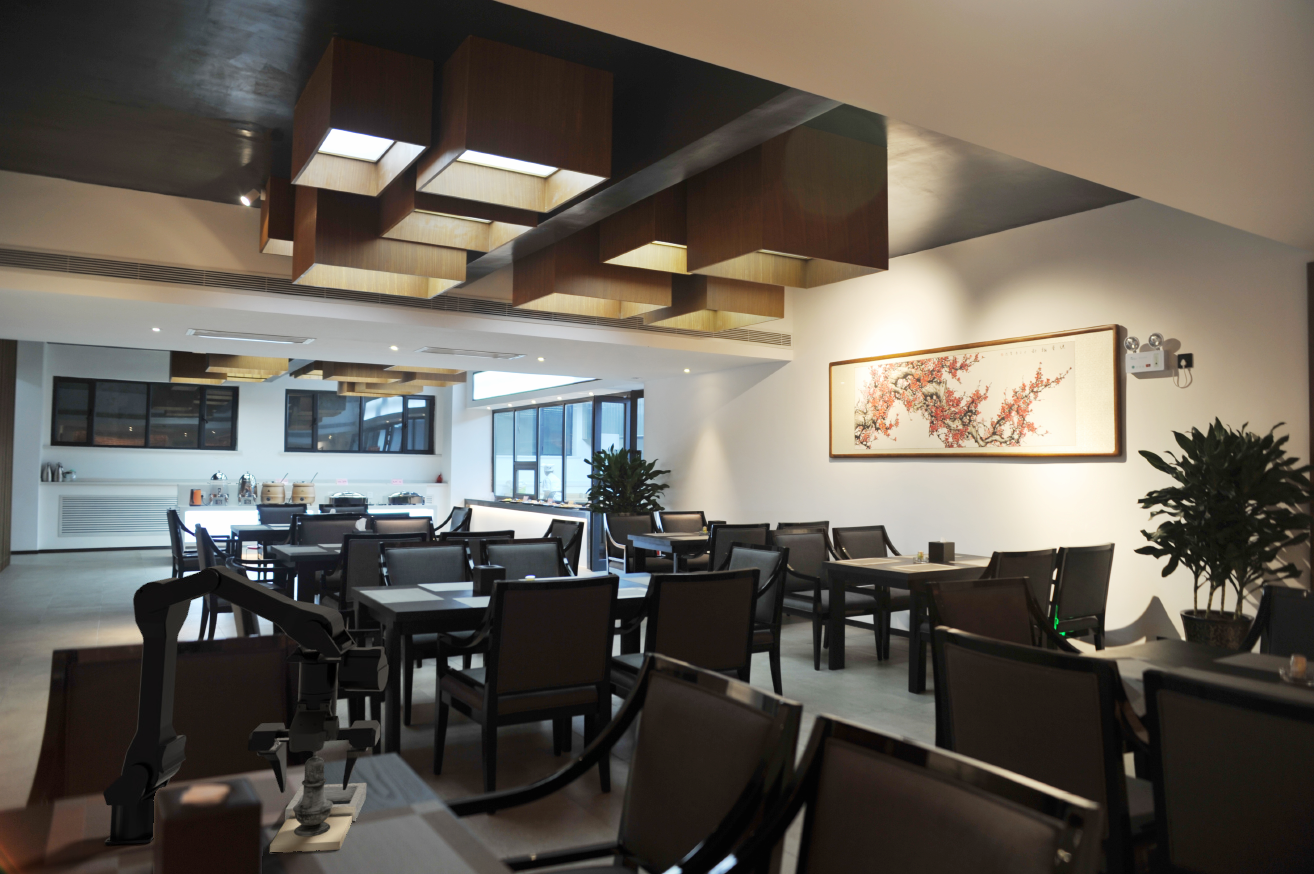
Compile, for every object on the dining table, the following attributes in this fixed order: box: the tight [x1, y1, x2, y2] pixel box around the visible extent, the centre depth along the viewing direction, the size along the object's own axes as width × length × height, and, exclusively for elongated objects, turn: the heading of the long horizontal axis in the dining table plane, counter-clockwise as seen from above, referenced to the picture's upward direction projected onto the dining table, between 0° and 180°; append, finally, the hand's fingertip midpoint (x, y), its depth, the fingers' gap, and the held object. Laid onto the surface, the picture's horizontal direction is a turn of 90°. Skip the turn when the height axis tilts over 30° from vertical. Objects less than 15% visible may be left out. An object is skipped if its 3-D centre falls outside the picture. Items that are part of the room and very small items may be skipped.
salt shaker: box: [293, 752, 334, 836], centre depth 134 cm, size 6×6×12 cm
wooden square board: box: [269, 816, 353, 853], centre depth 133 cm, size 10×10×1 cm
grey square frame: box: [284, 782, 368, 822], centre depth 144 cm, size 11×11×2 cm
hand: (314, 790), depth 134 cm, fingers open, 9 cm apart
